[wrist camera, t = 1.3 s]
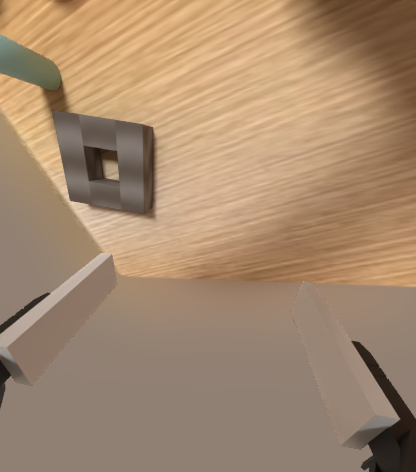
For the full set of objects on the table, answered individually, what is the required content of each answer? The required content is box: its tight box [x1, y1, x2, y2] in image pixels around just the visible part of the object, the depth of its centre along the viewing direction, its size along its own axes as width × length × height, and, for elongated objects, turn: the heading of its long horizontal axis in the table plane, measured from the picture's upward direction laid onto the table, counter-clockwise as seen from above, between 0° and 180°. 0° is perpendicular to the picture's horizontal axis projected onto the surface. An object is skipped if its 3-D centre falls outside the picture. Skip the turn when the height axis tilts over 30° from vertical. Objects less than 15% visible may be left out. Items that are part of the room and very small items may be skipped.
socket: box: [52, 110, 153, 214], centre depth 31 cm, size 14×14×4 cm
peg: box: [0, 34, 61, 90], centre depth 23 cm, size 4×4×12 cm
